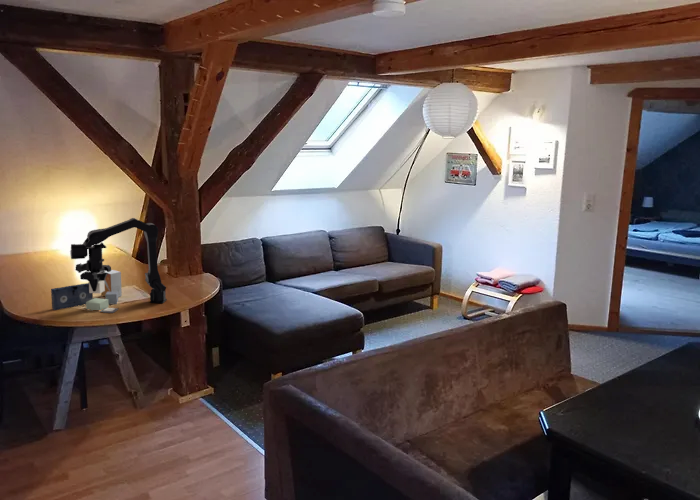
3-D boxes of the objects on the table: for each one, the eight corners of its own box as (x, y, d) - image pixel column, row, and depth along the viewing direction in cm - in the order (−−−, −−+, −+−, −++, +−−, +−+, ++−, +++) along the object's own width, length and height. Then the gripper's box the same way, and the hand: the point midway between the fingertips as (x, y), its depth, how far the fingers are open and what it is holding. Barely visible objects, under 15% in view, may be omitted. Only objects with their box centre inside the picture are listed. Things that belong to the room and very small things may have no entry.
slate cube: (118, 301, 274) (118, 291, 273) (116, 304, 269) (116, 294, 268) (107, 301, 273) (107, 291, 272) (105, 304, 268) (105, 294, 267)
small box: (101, 296, 280) (100, 271, 278) (111, 293, 286) (110, 269, 283) (111, 298, 276) (110, 273, 274) (122, 296, 282) (121, 271, 279)
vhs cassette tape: (91, 301, 270) (90, 282, 268) (93, 303, 268) (92, 283, 267) (51, 309, 257) (50, 288, 255) (54, 310, 255) (52, 289, 253)
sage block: (108, 307, 264) (108, 299, 263) (100, 311, 257) (99, 303, 256) (95, 306, 265) (94, 298, 264) (86, 310, 258) (85, 302, 257)
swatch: (118, 309, 261) (118, 307, 261) (112, 313, 255) (112, 311, 255) (105, 308, 261) (105, 307, 261) (100, 312, 255) (100, 310, 255)
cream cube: (104, 290, 262) (104, 280, 261) (99, 293, 257) (99, 283, 256) (94, 290, 262) (93, 280, 261) (89, 293, 257) (88, 282, 256)
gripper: (88, 252, 265) (89, 283, 269) (68, 261, 247) (69, 294, 250) (111, 253, 265) (112, 285, 268) (92, 262, 247) (94, 295, 250)
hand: (97, 289), depth 259 cm, fingers closed on cream cube, 5 cm apart
